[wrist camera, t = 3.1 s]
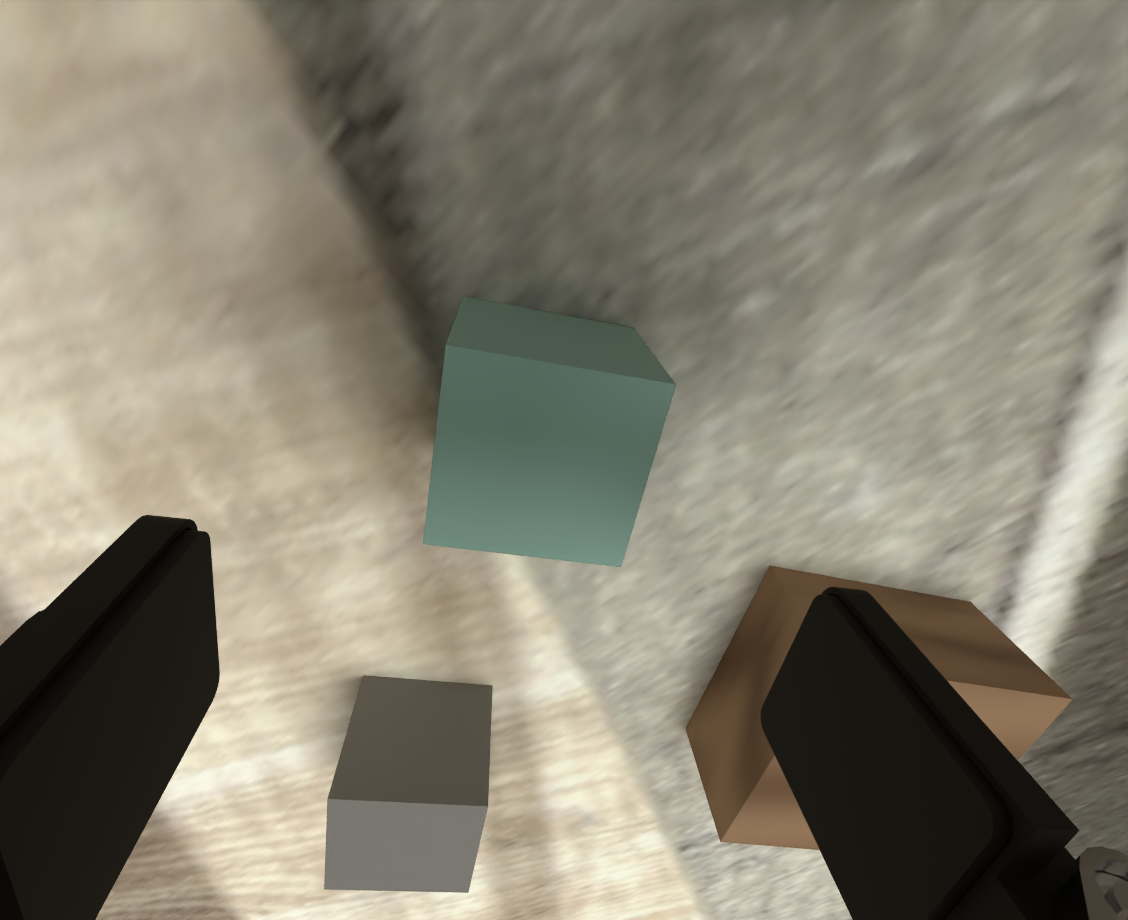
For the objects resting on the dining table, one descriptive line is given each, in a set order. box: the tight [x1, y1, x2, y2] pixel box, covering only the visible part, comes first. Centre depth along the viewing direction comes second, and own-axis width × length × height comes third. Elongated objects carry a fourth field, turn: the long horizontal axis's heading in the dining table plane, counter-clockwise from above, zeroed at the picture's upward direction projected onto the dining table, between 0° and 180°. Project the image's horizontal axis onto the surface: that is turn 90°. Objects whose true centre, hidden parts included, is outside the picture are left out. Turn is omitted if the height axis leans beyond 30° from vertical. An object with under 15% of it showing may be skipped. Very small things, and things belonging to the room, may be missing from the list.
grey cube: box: [324, 676, 492, 893], centre depth 22 cm, size 5×5×5 cm
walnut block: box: [686, 566, 1072, 850], centre depth 22 cm, size 9×9×5 cm
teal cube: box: [423, 296, 676, 567], centre depth 16 cm, size 5×5×5 cm
